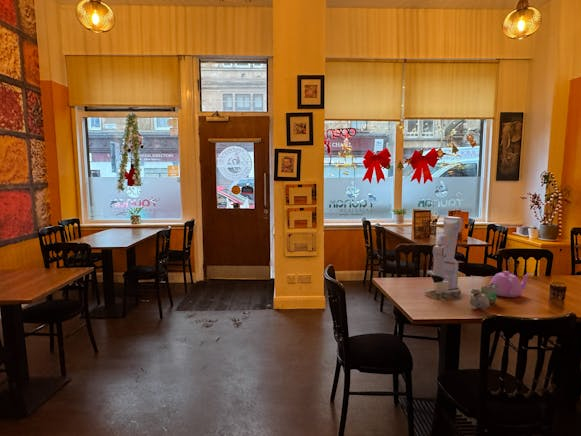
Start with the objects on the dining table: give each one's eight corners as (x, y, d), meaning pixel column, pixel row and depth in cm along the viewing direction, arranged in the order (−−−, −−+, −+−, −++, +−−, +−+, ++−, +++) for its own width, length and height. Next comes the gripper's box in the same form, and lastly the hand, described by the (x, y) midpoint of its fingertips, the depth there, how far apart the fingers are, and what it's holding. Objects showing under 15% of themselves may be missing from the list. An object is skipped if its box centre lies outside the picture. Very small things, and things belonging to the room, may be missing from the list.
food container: (491, 307, 201) (493, 289, 200) (479, 304, 206) (481, 286, 205) (501, 303, 209) (503, 285, 208) (490, 300, 214) (491, 282, 212)
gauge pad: (445, 292, 225) (446, 280, 224) (448, 292, 224) (448, 281, 223) (428, 295, 219) (429, 283, 218) (431, 296, 217) (431, 284, 216)
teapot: (537, 302, 211) (539, 277, 210) (494, 299, 216) (496, 275, 214) (522, 290, 233) (523, 268, 231) (483, 288, 237) (485, 266, 235)
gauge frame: (441, 290, 231) (441, 284, 230) (461, 297, 218) (461, 290, 217) (422, 293, 223) (422, 287, 223) (442, 301, 211) (442, 294, 210)
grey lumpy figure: (492, 314, 190) (493, 290, 191) (471, 312, 192) (472, 288, 193) (487, 311, 200) (488, 288, 200) (467, 309, 202) (468, 286, 203)
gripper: (424, 264, 227) (423, 286, 229) (443, 269, 214) (442, 293, 216) (432, 262, 230) (431, 284, 232) (452, 268, 218) (451, 291, 219)
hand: (437, 288), depth 224 cm, fingers closed
